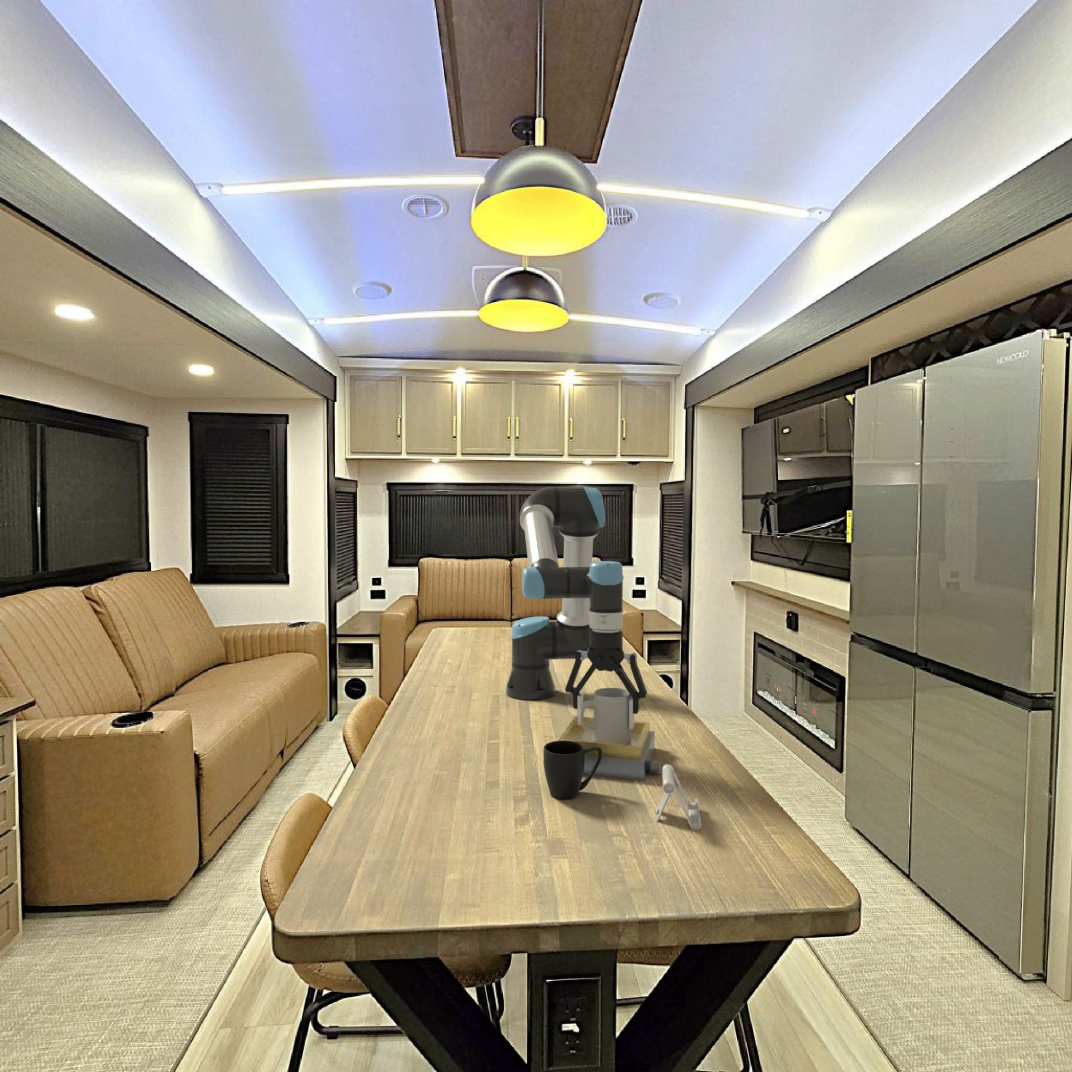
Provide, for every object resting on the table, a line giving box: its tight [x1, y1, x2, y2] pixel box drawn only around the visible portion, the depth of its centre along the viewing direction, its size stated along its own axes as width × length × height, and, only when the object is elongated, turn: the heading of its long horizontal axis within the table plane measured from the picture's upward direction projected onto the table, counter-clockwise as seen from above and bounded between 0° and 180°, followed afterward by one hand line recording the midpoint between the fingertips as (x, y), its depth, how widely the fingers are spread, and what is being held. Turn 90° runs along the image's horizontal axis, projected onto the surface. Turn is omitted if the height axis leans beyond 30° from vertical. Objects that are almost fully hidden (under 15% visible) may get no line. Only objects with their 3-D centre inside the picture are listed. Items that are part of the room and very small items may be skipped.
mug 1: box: [542, 740, 602, 801], centre depth 134 cm, size 8×12×10 cm
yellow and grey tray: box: [557, 715, 661, 782], centre depth 152 cm, size 23×20×6 cm
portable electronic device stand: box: [655, 764, 702, 831], centre depth 123 cm, size 9×8×8 cm
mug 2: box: [579, 687, 631, 744], centre depth 152 cm, size 12×8×11 cm
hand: (605, 725), depth 152 cm, fingers closed on mug 2, 11 cm apart
